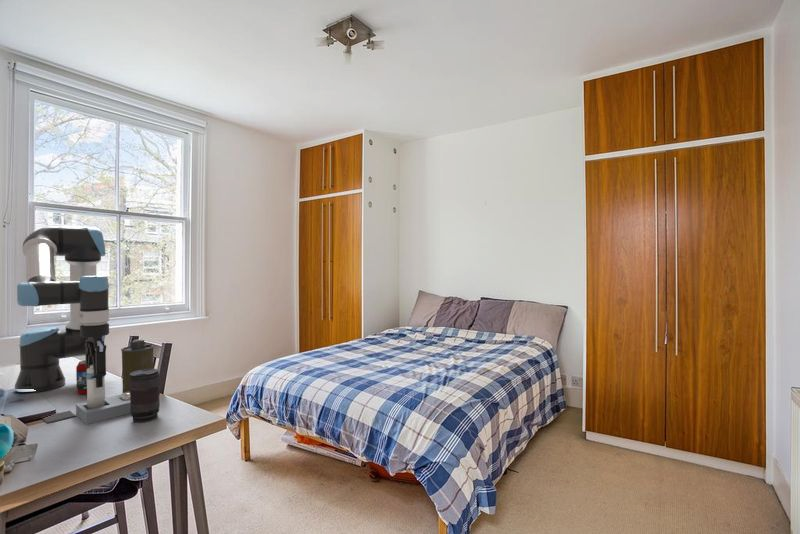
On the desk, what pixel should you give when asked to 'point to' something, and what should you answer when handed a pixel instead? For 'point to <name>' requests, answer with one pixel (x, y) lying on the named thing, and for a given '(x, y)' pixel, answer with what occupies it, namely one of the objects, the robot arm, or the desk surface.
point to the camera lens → (144, 394)
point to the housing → (103, 410)
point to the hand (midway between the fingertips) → (96, 394)
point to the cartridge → (92, 401)
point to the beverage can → (81, 378)
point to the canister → (135, 360)
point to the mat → (59, 417)
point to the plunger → (126, 396)
